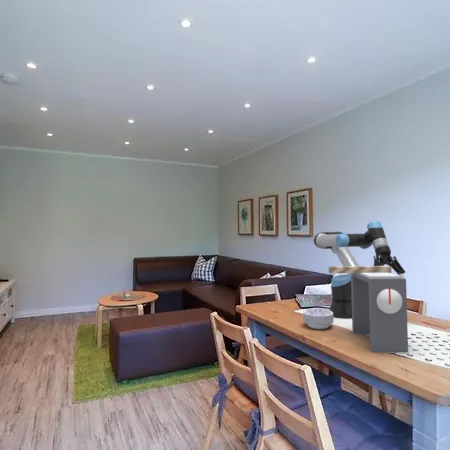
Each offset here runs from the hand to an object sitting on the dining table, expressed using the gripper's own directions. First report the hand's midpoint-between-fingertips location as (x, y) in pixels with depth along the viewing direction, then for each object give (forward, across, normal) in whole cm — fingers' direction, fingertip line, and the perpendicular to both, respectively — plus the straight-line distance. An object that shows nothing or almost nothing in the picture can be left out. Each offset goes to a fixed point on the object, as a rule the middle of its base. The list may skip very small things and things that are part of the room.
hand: (394, 285), depth 172 cm
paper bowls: (+15, -31, +28) cm, 44 cm away
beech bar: (-4, -26, -5) cm, 27 cm away
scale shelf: (+27, -22, 0) cm, 34 cm away
